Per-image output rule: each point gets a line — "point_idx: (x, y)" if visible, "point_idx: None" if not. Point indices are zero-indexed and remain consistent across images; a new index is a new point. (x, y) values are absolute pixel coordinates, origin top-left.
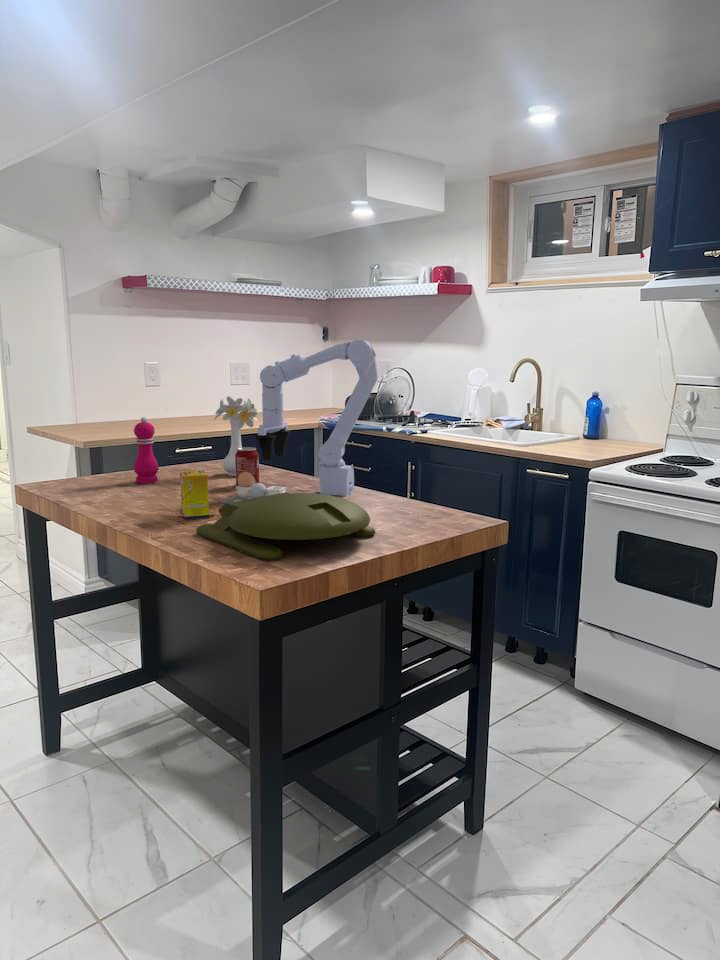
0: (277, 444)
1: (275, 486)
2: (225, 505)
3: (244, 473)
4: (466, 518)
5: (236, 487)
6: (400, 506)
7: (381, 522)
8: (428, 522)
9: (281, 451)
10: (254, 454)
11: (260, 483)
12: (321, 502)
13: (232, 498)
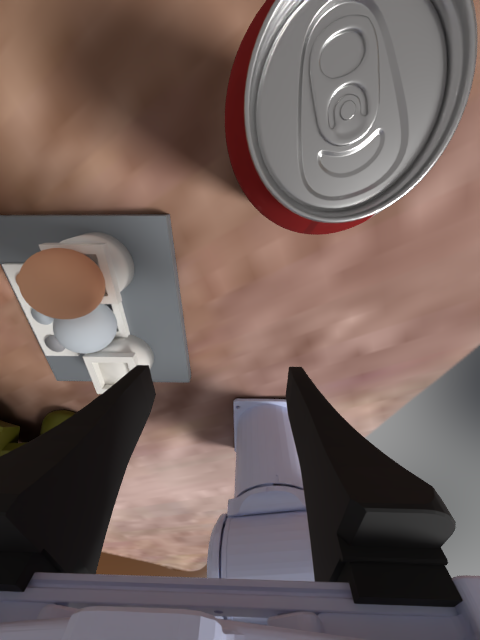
0: (305, 431)
1: (133, 365)
2: None
3: (26, 298)
4: (194, 555)
5: (43, 248)
6: (224, 509)
7: (118, 507)
8: (152, 537)
9: (290, 414)
10: (291, 226)
11: (74, 346)
12: None
13: (54, 229)
